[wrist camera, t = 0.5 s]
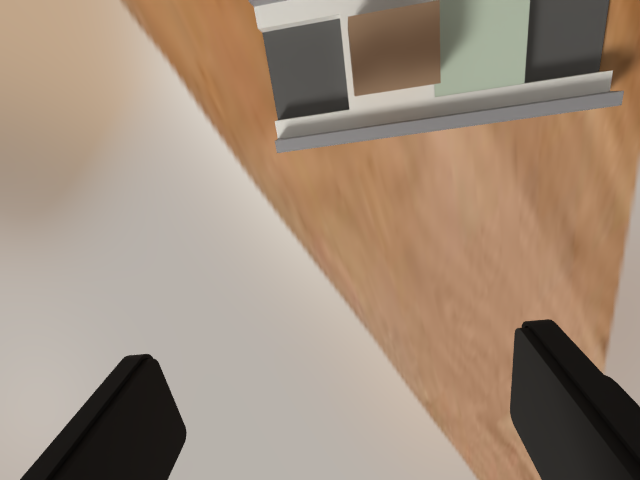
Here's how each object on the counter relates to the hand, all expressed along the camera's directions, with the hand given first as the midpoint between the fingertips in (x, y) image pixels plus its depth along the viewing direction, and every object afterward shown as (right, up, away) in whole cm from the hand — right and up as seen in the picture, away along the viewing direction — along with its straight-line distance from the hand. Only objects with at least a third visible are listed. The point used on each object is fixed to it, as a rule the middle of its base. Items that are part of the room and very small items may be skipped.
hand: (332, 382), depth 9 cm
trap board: (+9, +19, +20) cm, 29 cm away
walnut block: (+5, +18, +18) cm, 26 cm away
